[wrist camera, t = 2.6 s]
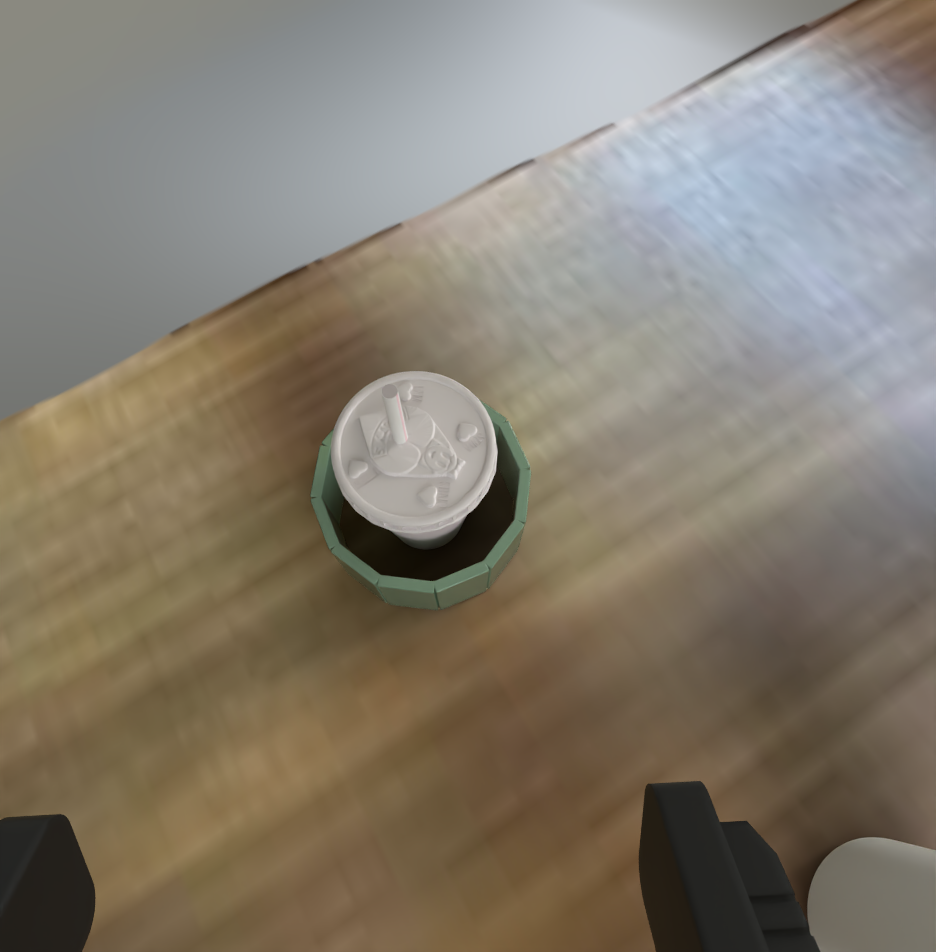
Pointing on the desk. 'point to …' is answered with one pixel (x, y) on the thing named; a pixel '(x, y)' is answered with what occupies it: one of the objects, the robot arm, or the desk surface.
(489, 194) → the desk surface
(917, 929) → the can
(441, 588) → the holder
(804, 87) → the desk surface
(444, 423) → the smoothie
